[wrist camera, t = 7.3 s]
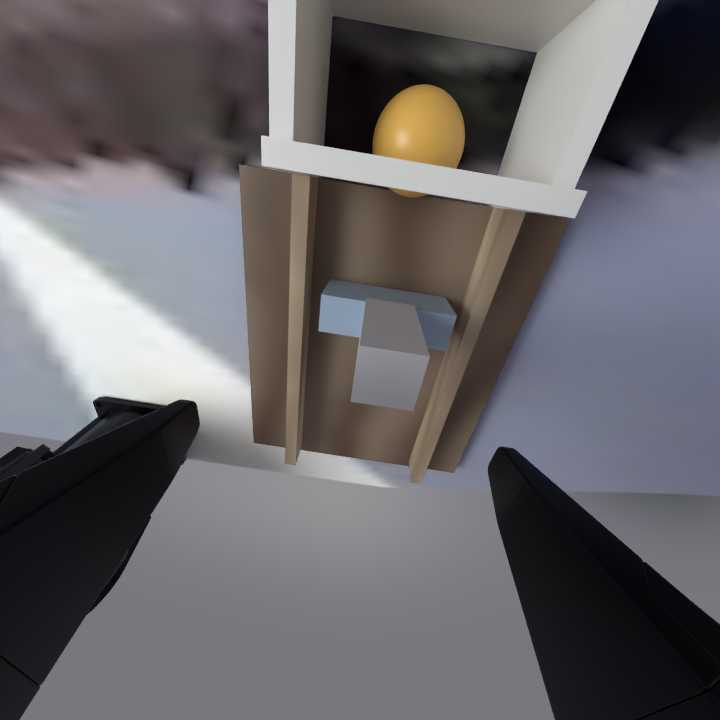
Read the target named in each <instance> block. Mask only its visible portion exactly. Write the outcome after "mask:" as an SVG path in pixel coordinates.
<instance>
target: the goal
mask: <svg viewBox="0 0 720 720" xmlns="http://www.w3.org/2000/svg"><path fill="white" fill-rule="evenodd" d="M657 2H658V0H268V23H269V135H270V137H267V136H261V150H262V166H266V167H270V168H274V169H278V170H283V171H287V172H291V173H297V174H302V175H308V176H313V177H317V178H322V176H323V177H329V178H335V179H341V180H347V181H353V182H359V183H365V184H371V185H376V186H382V187H388V188H394V189H400V190H406V191H412V192H418V193H424V194H430V195H436V196H442V197H448V198H454V199H459V200H465V201H471V202H477V203H483V204H488V207H494V208H502V209H510V210H516V211H522V212H528V213H536V214H544V215H552V216H560V217H567V218H575V217H576V215H577V213H578V211H579V209H580V207H581V204H582V202H583V200H584V198H585V196H586V194H587V192H588V191H583V190H577V189H575V187H576V184H577V182H578V180H579V178H580V175H581V173H582V171H583V169H584V166H585V164H586V162H587V160H588V157H589V155H590V153H591V151H592V148H593V146H594V144H595V142H596V139H597V137H598V135H599V133H600V131H601V128H602V126H603V124H604V122H605V119H606V117H607V115H608V113H609V110H610V108H611V106H612V104H613V101H614V99H615V97H616V95H617V92H618V90H619V88H620V86H621V83H622V81H623V79H624V77H625V74H626V72H627V70H628V68H629V65H630V63H631V61H632V59H633V56H634V54H635V52H636V50H637V47H638V45H639V43H640V41H641V38H642V36H643V34H644V32H645V29H646V27H647V25H648V23H649V20H650V18H651V16H652V14H653V11H654V9H655V7H656V5H657ZM333 16H335V17H341V18H346V19H352V20H357V21H363V22H369V23H374V24H380V25H385V26H391V27H396V28H402V29H408V30H413V31H419V32H424V33H430V34H435V35H441V36H446V37H452V38H458V39H463V40H469V41H474V42H480V43H485V44H491V45H496V46H502V47H508V48H513V49H519V50H524V51H530V52H535V53H537V55H536V58H535V61H534V64H533V67H532V70H531V73H530V76H529V79H528V83H527V86H526V89H525V92H524V95H523V98H522V101H521V104H520V107H519V110H518V113H517V116H516V120H515V123H514V126H513V129H512V132H511V135H510V138H509V141H508V144H507V147H506V150H505V154H504V157H503V160H502V163H501V166H500V169H499V172H498V175H497V176H495V175H489V174H484V173H478V172H472V171H466V170H460V169H454V168H448V167H443V166H437V165H431V164H425V163H419V162H413V161H407V160H402V159H396V158H390V157H384V156H378V155H372V154H366V153H361V152H355V151H349V150H343V149H337V148H331V147H325V146H324V138H325V123H326V108H327V93H328V79H329V64H330V49H331V34H332V19H333Z"/></svg>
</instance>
